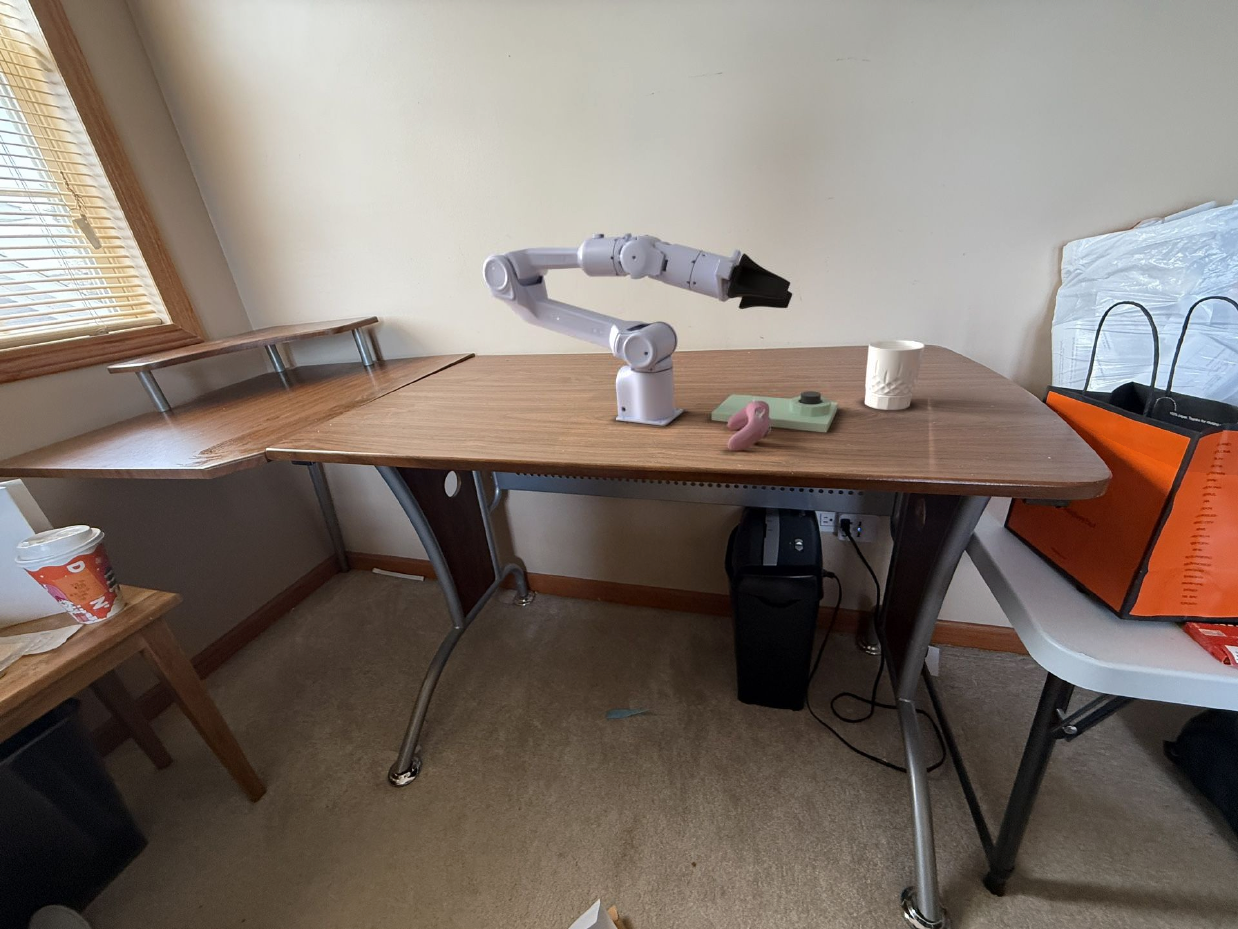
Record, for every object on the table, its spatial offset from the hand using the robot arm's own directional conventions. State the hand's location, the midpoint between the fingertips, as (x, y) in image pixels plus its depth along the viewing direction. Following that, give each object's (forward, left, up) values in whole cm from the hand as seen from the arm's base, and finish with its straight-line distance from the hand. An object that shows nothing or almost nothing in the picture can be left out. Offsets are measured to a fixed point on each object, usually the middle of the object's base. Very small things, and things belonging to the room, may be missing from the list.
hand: (788, 295), depth 66 cm
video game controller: (-3, -6, -20) cm, 21 cm away
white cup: (+14, +17, -20) cm, 29 cm away
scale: (-2, +6, -20) cm, 21 cm away
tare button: (+3, +6, -17) cm, 18 cm away
